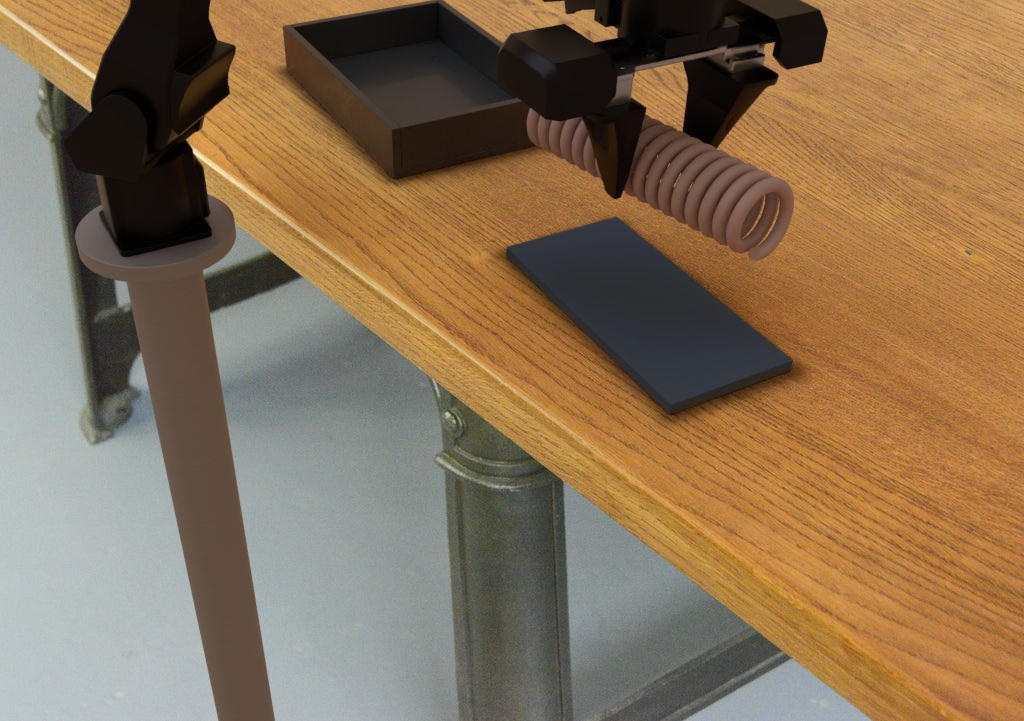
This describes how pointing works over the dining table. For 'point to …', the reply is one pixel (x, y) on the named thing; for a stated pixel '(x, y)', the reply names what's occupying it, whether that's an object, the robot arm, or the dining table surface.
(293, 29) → the dark brown tray
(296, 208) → the dining table surface
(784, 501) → the dining table surface
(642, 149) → the coil
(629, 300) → the pad
